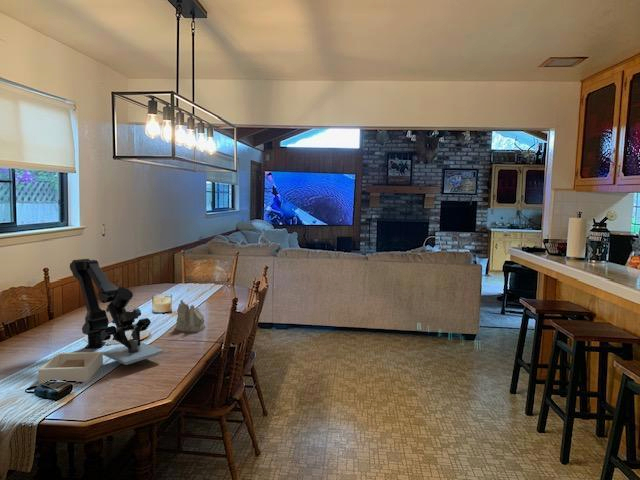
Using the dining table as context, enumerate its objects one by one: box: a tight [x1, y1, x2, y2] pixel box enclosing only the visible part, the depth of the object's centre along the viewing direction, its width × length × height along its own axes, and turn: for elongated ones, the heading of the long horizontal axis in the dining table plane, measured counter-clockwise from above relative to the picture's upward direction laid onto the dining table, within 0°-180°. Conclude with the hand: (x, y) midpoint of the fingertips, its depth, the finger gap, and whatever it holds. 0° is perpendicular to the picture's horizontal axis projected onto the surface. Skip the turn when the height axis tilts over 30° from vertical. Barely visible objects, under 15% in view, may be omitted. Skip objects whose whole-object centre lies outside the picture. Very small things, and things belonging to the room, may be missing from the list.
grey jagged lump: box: [175, 299, 207, 333], centre depth 222 cm, size 16×16×15 cm
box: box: [37, 351, 104, 384], centre depth 163 cm, size 16×16×5 cm
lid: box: [102, 338, 164, 366], centre depth 174 cm, size 16×16×6 cm
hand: (134, 346), depth 173 cm, fingers closed on lid, 4 cm apart
